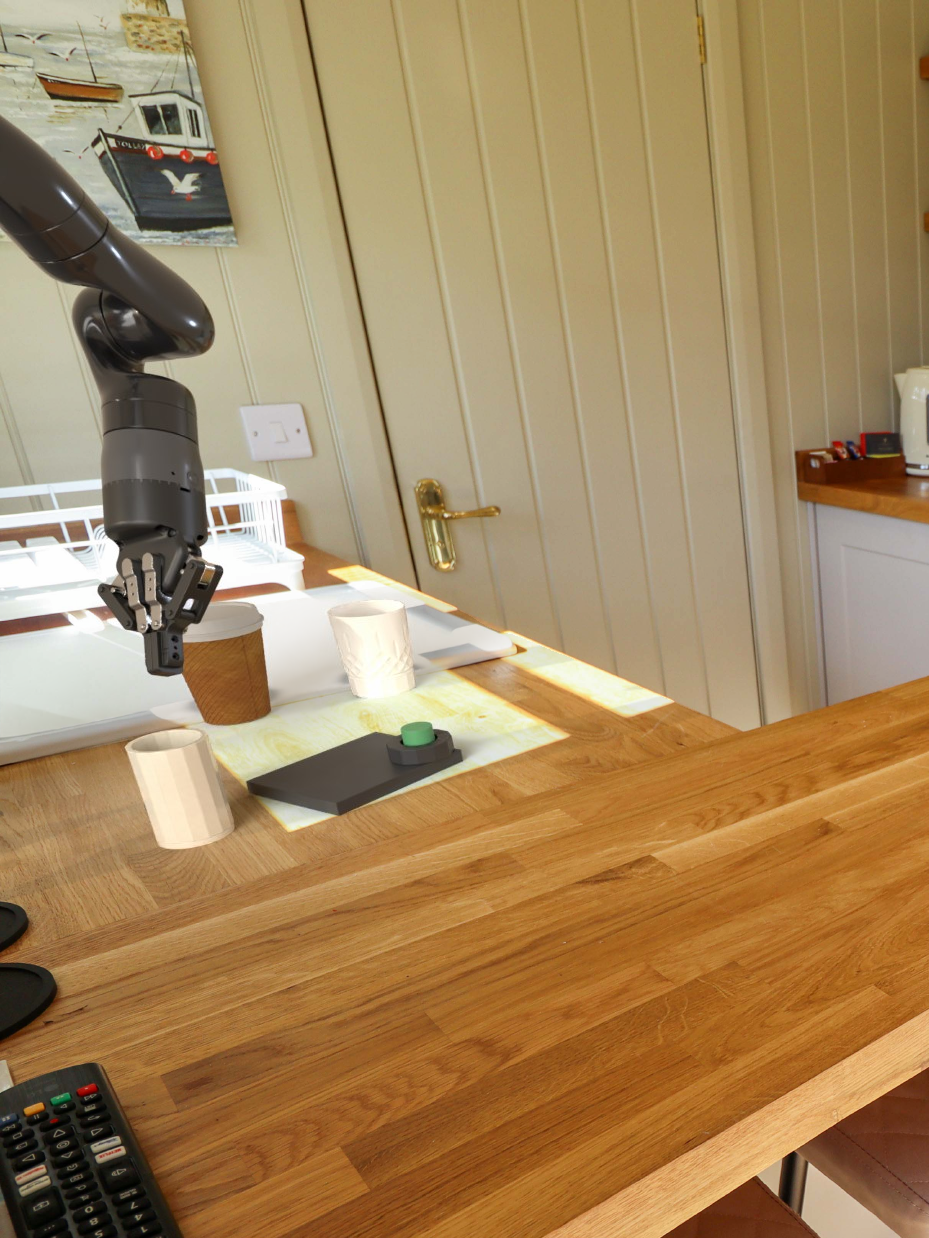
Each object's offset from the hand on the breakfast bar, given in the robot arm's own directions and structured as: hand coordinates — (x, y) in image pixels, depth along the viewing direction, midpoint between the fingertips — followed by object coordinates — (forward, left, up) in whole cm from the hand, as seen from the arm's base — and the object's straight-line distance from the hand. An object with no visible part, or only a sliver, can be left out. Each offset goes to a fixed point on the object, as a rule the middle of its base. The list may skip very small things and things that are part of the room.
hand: (165, 674), depth 99 cm
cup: (-6, -8, -12) cm, 16 cm away
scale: (+8, -10, -12) cm, 18 cm away
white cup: (+28, +10, -12) cm, 32 cm away
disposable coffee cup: (+15, +17, -12) cm, 25 cm away
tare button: (+13, -14, -9) cm, 21 cm away
